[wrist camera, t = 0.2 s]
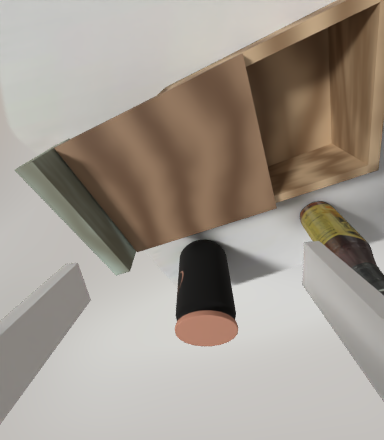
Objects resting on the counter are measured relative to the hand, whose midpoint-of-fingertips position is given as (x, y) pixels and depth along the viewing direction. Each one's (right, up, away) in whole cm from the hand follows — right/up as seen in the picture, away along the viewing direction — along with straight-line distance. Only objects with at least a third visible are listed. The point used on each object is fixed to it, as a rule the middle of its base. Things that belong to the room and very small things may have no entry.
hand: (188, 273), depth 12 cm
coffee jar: (+3, -5, +38) cm, 38 cm away
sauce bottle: (+25, +5, +30) cm, 40 cm away
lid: (-3, +10, +18) cm, 21 cm away
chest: (+10, +19, +20) cm, 29 cm away
